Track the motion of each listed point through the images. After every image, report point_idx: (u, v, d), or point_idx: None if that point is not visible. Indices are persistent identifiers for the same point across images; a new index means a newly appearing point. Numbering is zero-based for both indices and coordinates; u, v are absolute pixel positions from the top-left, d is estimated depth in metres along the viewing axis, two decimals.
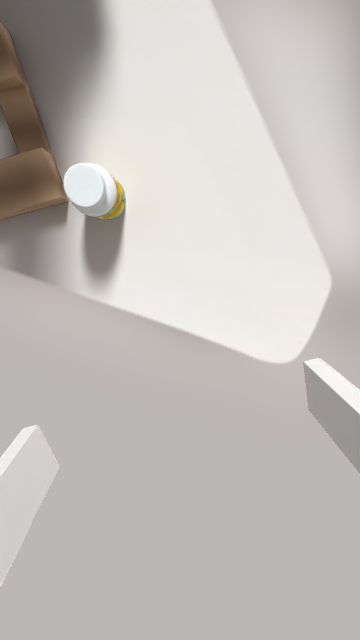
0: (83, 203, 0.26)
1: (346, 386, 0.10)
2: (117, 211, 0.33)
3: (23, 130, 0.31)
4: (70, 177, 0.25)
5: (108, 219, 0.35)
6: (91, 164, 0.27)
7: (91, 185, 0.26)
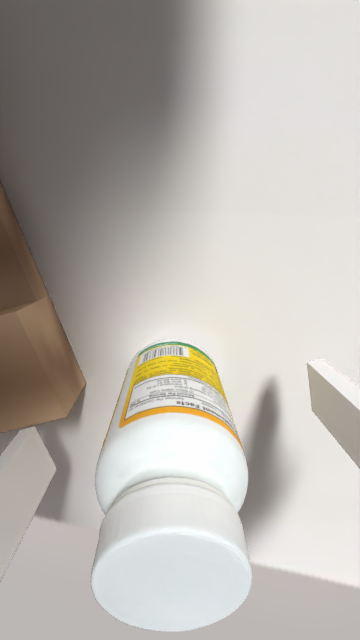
0: (167, 625, 0.07)
1: (351, 387, 0.09)
2: None
3: None
4: (121, 570, 0.06)
5: None
6: (183, 436, 0.08)
7: (204, 584, 0.06)
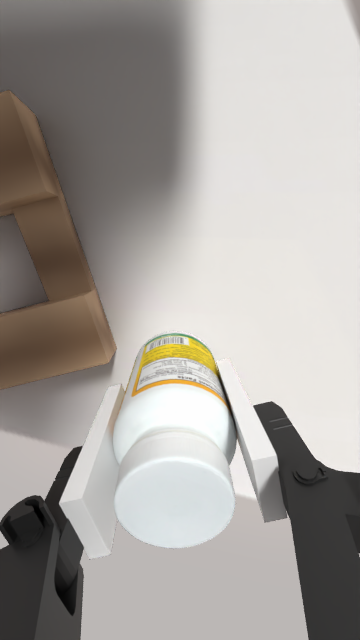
0: (171, 542, 0.09)
1: (234, 381, 0.12)
2: None
3: (53, 260, 0.19)
4: (136, 492, 0.08)
5: None
6: (183, 400, 0.10)
7: (199, 505, 0.08)
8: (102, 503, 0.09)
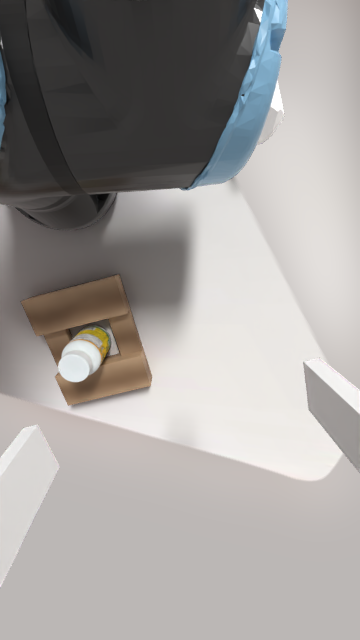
0: (74, 379, 0.33)
1: (346, 386, 0.10)
2: None
3: (124, 337, 0.40)
4: (63, 364, 0.32)
5: None
6: (80, 344, 0.34)
7: (80, 368, 0.33)
8: None
